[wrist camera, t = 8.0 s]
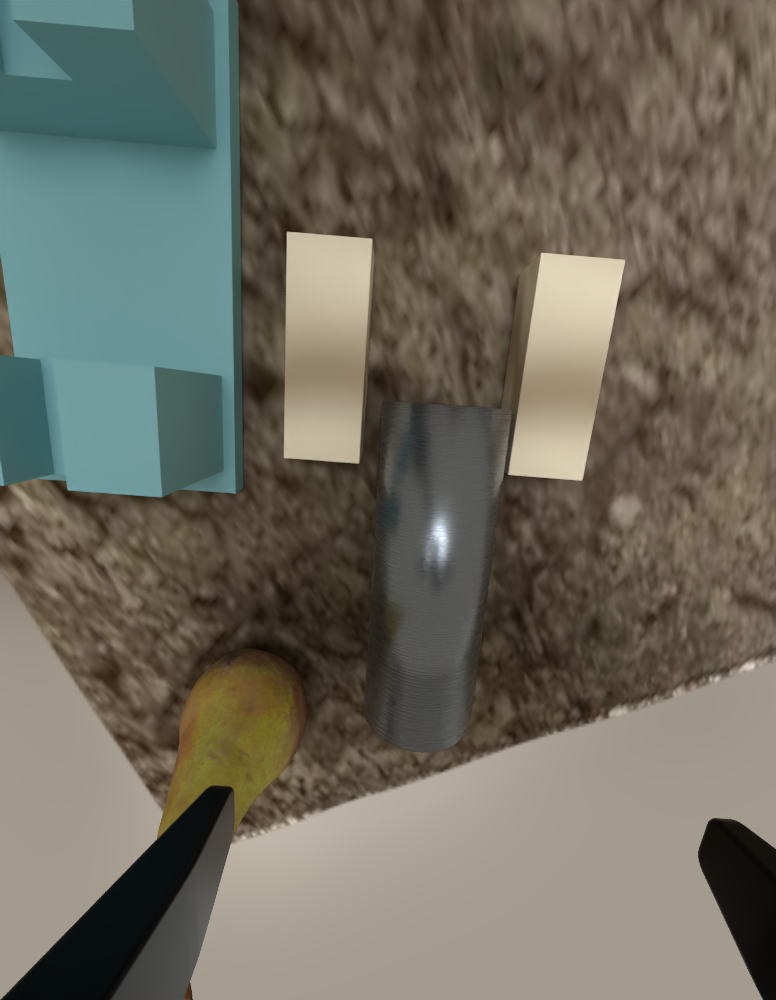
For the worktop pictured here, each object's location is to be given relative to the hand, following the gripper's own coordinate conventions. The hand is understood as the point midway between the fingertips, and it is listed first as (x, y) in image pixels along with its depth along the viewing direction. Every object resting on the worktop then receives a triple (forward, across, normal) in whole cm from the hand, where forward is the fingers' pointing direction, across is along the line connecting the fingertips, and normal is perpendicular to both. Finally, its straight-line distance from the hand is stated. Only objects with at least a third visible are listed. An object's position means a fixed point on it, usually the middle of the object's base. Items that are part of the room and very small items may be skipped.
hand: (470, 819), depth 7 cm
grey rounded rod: (+13, 0, 0) cm, 13 cm away
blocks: (+13, 0, -8) cm, 16 cm away
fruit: (+13, +8, +8) cm, 17 cm away
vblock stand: (+13, +13, -12) cm, 22 cm away
